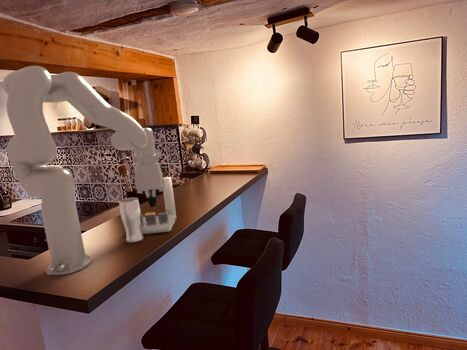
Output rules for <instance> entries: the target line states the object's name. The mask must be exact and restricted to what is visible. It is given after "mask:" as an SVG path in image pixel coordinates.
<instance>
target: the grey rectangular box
mask: <svg viewBox="0 0 467 350" xmlns="http://www.w3.org/2000/svg"><path fill="white" fill-rule="evenodd" d="M157 216H158V219H159V221H161V220H168V219H169V217H168V212H166V211H165V212H159V213H157Z"/></svg>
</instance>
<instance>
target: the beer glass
mask: <svg viewBox="0 0 467 350" xmlns="http://www.w3.org/2000/svg"><path fill="white" fill-rule="evenodd" d="M118 203H119V213H120V216H121V217H120V218H121V221H122V223H123V225H124V226H123V227H124V229H125V232H126V233H125V234H126V240H125V241H126V242H127V243H137V242H139V241H142V240H143V239H144V234H142V232H141V215H142V213H141V207H140V202H139V198H138V197H128V198H124V199H121V200H119V202H118Z"/></svg>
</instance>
